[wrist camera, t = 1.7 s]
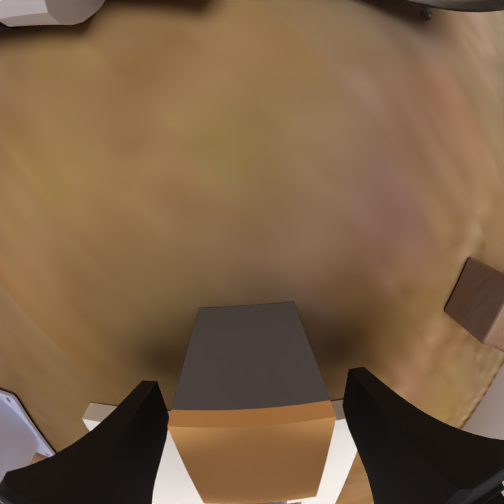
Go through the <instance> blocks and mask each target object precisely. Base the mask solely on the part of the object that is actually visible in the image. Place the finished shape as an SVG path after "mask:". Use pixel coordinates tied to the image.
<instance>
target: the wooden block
mask: <svg viewBox="0 0 504 504" xmlns="http://www.w3.org/2000/svg"><path fill="white" fill-rule="evenodd" d="M445 312H446V314H448V315H449V316H450V317H451V318H453V319H454V320H455V321H456V322H457V323H459V324H460V325H461V326H462V327H463V328H465V329H466V330H467V331H468V332H469V333H471V334H472V335H473V336H474V337H475V338H476V339H478V340H479V341H480V342H481V343H482V344H486V345H489V346H492V347H495V348H497V349H499V350H501V351H503V352H504V274H503V273H501V272H499V271H498V270H496V269H494V268H492V267H490V266H488V265H486V264H484V263H482V262H479V261H477V260H475V259H473V258H469V259H468V261H467V263H466V265H465V268H464V270H463V272H462V275H461V277H460V279H459V281H458V283H457V285H456V288H455V290H454V292H453V294H452V296H451V298H450V300H449V302H448V304H447V306H446V308H445Z"/></svg>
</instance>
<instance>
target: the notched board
mask: <svg viewBox="0 0 504 504" xmlns="http://www.w3.org/2000/svg"><path fill="white" fill-rule="evenodd" d="M331 403H332V406H333V409H334V411H335V414H336V420H335V425H334V430H333V434H332V439H331V443H330V447H329V451H328V456H327V460H326V464H325V467H324V471H323V475H322V478H321V482H320V485H319V489H318V492H317V496H316V497H311V498H304V499H297V500H289V501H287V503H295V502H297V504H335V502H336V500H337V498H338V496H339V494H340V491H341V489H342V487H343V485H344V482H345V480H346V478H347V475H348V473H349V470H350V468H351V465H352V463H353V460H354V457H355V455H356V452H357V448H356V446H355V443H354V441H353V438H352V436H351V434H350V431H349V429H348V426H347V422H346V419H345V415H344V411H343V407H342V404H343V400H337V401H331ZM116 407H117V406H110V405H103V404H97V403H90V404H89V406H88V408H87V410H86V412H85V414H84V415H83V417H82V420H83V421H84V423H85V425H86V426H87V428H88V429H89V431H91V430H93V429H94V428H95V427H96V426H97V425H98V424H99V423H100V422H102V421H103V420H104V419H105V418H106V417H107V416H108V415H109V414H110V413H111V412H112V411H113V410H114V409H115V408H116ZM170 413H171V411H168V414H169V417H170ZM152 504H206V503H203V501H202V499H201V497H200V495H199V494H198V492H197V490H196V488H195V486H194V484H193V482H192V480H191V478H190V476H189V474H188V472H187V470H186V468H185V466H184V464H183V461H182V459H181V457H180V455H179V453H178V450H177V448H176V446H175V444H174V441H173V439H172V436H171V434H170V432H169V429H168V431H167V438H166V442H165V446H164V450H163V454H162V457H161V461H160V465H159V468H158V472H157V476H156V480H155V484H154V489H153V498H152Z"/></svg>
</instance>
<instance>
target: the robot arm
mask: <svg viewBox="0 0 504 504" xmlns="http://www.w3.org/2000/svg"><path fill="white" fill-rule="evenodd" d="M342 407H343V411H344V415H345V419H346V422H347V426H348V429H349V431H350V434H351V436H352V438H353V441H354V443H355V446H356V448H357V450H358V453H359V455H360V458H361V460H362V462H363V465H364V467H365V470H366V473H367V476H368V479H369V483H370V487H371V491H372V495H373V500H374V504H504V496H503V495H502V493H501V491H503V490H504V486H503V484H502V481H504V440H499V439H491V438H487V437H483V436H479V435H475V434H472V433H469V432H465V431H463V430H460V429H457V428H455V427H452V426H450V425H448V424H445V423H443V422H441V421H439V420H437V419H435V418H433V417H432V416H430V415H428V414H426V413H424V412H423V411H421V410H420V409H418V408H416V407H415V406H413V405H412V404H410V403H409V402H407V401H406V400H405V399H403V398H402V397H400V396H399V395H398V394H397V393H395V392H394V391H393V390H391V389H390V388H389V387H388V386H386V385H385V384H384V383H383V382H381V381H380V380H379V379H378V378H377V377H375V376H374V375H373V374H372V373H371V372H369V371H368V370H367V369H366V368H365V367H359V368H353V369H349V371H348V377H347V383H346V388H345V394H344V399H343V404H342ZM168 421H169V414H168V411H167V409H166V406H165V403H164V400H163V397H162V394H161V391H160V389H159V385H158V382H157V381H142V382H141V383H140V384H139V385H138V386H137V387H136V388H135V389H134V390H133V391H132V392H131V393H130V394H129V395H128V396H127V397H126V398H125V399H124V400H123V401H122V402H121V403H120V404H119V405H118V406H117V407H116V408H115V409H114V410H113V411H112V412H111V413H110V414H109V415H108V416H107V417H106V418H105V419H104V420H103V421H102V422H100V423H99V424H98V425H97V426H96V427H95V428H94V429H93V430H91V431H90V432H89V433H87V434H86V435H85V436H83V437H82V438H81V439H79V440H78V441H76V442H75V443H73V444H72V445H70V446H69V447H67V448H65V449H63V450H62V451H60V452H58V453H56V454H55V452H54V451H53V450H52V449H51V447H50V446H49V445H48V443H47V442H46V441H45V439H44V438H43V437H42V435H41V434H40V433H39V431H38V430H37V428H36V427H35V425H34V424H33V423H32V421H31V420H30V418H29V417H28V415H27V414H26V412H25V410H24V409H23V407H22V406H21V404H20V402H19V401H18V399H17V398H16V397H15V396H14V395H13V394H10V393H8V392H5V391H2V390H0V504H152V498H153V489H154V484H155V480H156V476H157V472H158V468H159V465H160V461H161V457H162V454H163V450H164V446H165V442H166V438H167V431H168V427H167V425H168ZM36 452H37V453H40V454H42V455H45V456H47V457H48V458H46V459H44V460H42V461H39V462H37V463H34V464H32V465H29V464H30V462H31V460H32V459H33V457H34V455H35V453H36Z"/></svg>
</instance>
